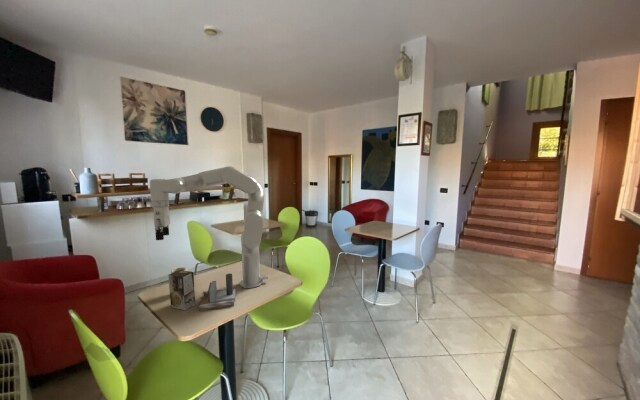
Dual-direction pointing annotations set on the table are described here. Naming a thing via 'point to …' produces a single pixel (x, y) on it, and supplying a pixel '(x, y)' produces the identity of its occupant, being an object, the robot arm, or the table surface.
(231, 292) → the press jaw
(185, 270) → the character mug
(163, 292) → the table surface
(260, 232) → the robot arm
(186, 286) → the coffee box
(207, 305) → the press bed
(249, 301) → the table surface
